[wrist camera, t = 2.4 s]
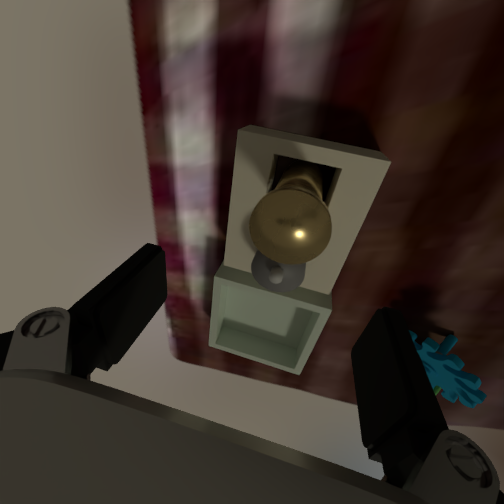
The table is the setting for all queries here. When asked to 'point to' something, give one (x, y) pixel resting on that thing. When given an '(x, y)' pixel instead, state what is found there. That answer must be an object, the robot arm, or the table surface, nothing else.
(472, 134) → the table surface
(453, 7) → the table surface
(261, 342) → the tray
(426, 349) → the teal lobed piece
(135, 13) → the table surface
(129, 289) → the robot arm
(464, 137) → the table surface
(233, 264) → the beige boxy piece
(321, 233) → the pin
